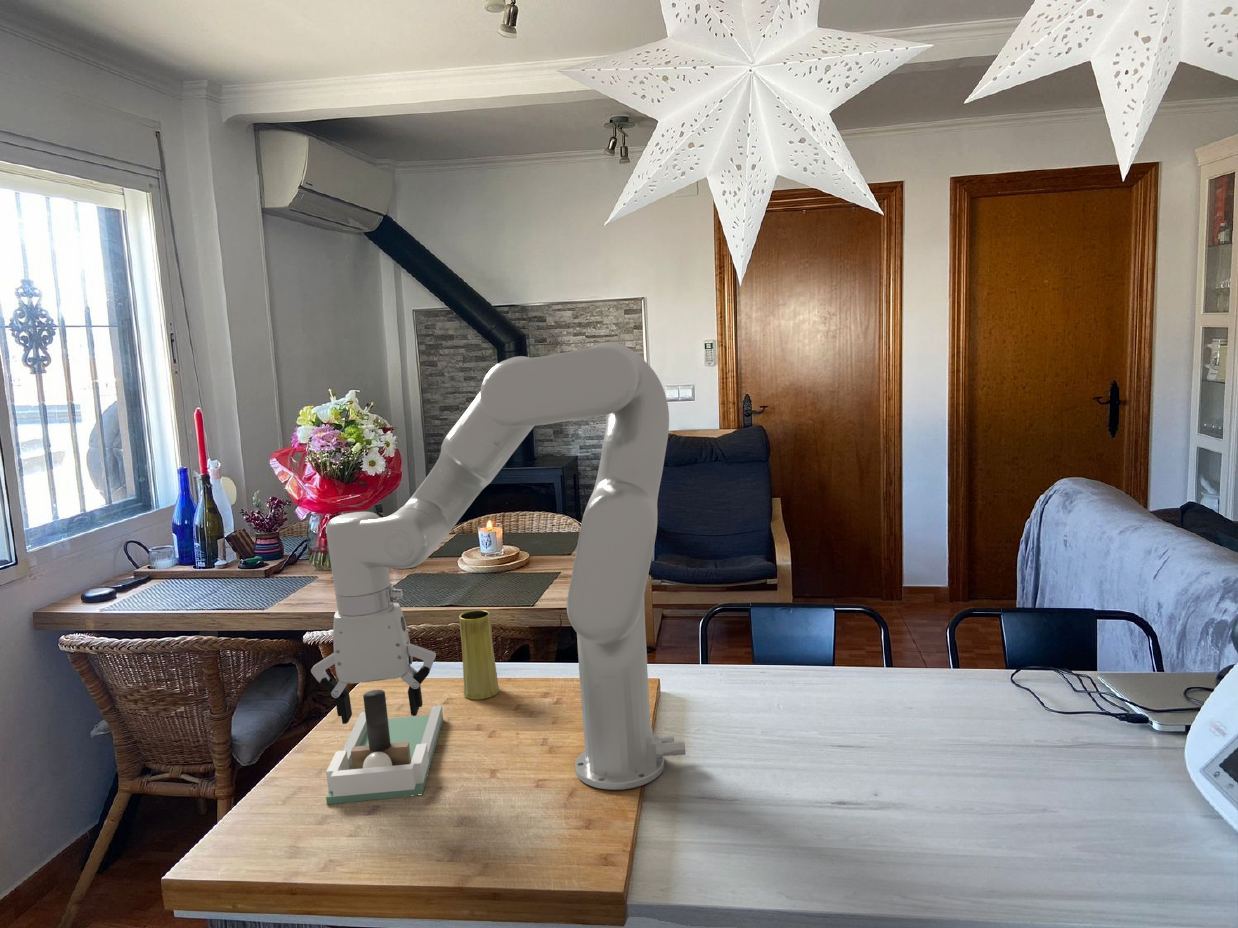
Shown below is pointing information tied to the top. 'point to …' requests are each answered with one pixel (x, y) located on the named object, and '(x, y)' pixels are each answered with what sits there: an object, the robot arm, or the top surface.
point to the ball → (377, 760)
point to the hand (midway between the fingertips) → (381, 715)
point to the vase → (478, 655)
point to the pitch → (388, 779)
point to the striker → (379, 733)
